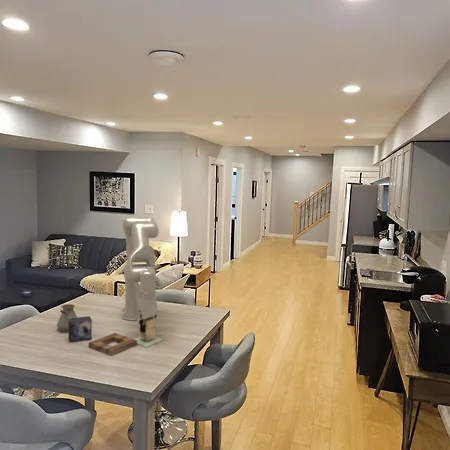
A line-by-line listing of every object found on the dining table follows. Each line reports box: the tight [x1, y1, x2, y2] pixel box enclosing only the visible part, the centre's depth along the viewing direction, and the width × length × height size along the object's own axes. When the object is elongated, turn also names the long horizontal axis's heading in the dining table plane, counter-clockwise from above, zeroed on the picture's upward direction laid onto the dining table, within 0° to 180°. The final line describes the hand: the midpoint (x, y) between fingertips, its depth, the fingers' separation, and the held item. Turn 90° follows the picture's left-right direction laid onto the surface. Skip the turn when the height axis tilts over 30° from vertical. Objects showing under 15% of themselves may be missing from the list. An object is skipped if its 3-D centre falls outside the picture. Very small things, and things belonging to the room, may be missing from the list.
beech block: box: [138, 317, 156, 341], centre depth 207 cm, size 6×6×10 cm
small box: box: [67, 315, 93, 343], centre depth 207 cm, size 11×6×10 cm, turn 118°
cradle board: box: [88, 332, 138, 357], centre depth 200 cm, size 16×16×2 cm
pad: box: [134, 335, 165, 348], centre depth 208 cm, size 12×12×1 cm
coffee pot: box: [56, 303, 78, 333], centre depth 215 cm, size 21×12×15 cm, turn 7°
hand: (147, 329), depth 207 cm, fingers closed on beech block, 5 cm apart
